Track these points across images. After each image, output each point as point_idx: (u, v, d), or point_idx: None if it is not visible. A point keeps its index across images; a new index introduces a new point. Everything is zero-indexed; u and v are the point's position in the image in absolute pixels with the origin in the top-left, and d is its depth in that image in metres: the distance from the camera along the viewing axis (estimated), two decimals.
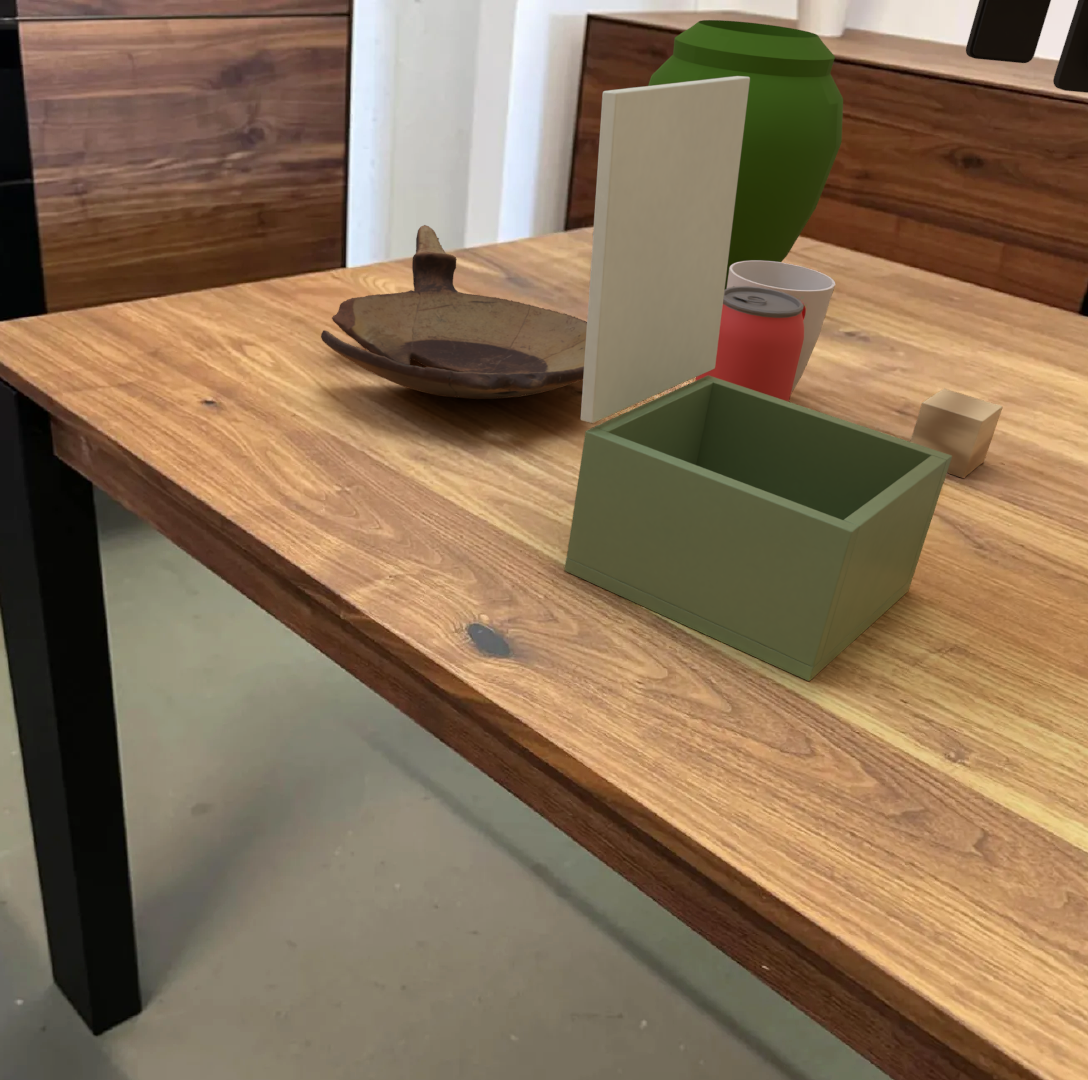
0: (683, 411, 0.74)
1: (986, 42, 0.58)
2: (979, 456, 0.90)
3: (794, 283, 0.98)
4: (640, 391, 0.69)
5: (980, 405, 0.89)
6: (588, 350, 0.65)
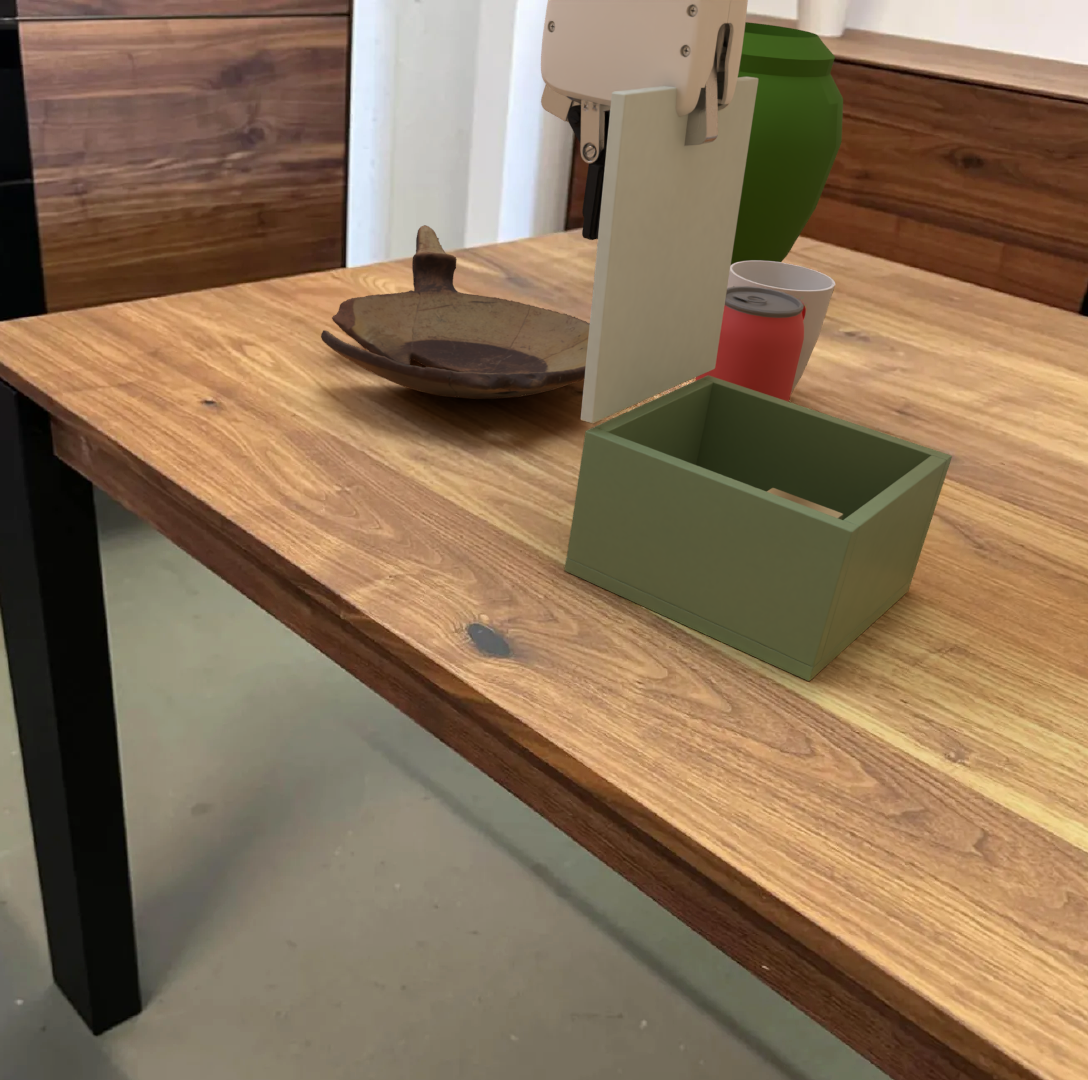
0: (683, 411, 0.74)
1: None
2: None
3: (794, 283, 0.98)
4: (640, 391, 0.69)
5: None
6: (590, 350, 0.65)
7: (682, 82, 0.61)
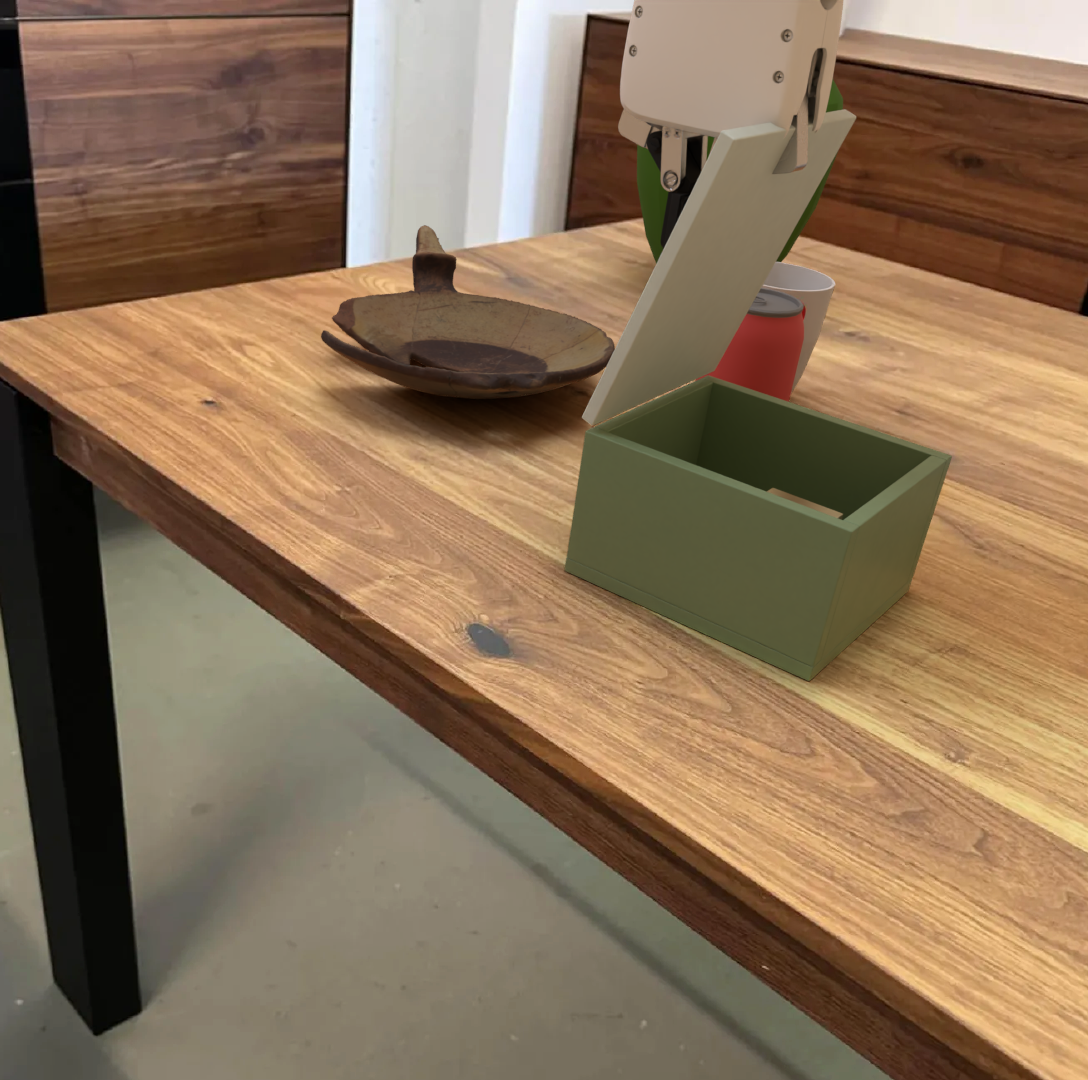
0: (683, 411, 0.74)
1: None
2: None
3: (794, 283, 0.98)
4: (643, 396, 0.69)
5: None
6: (613, 360, 0.64)
7: (774, 109, 0.59)
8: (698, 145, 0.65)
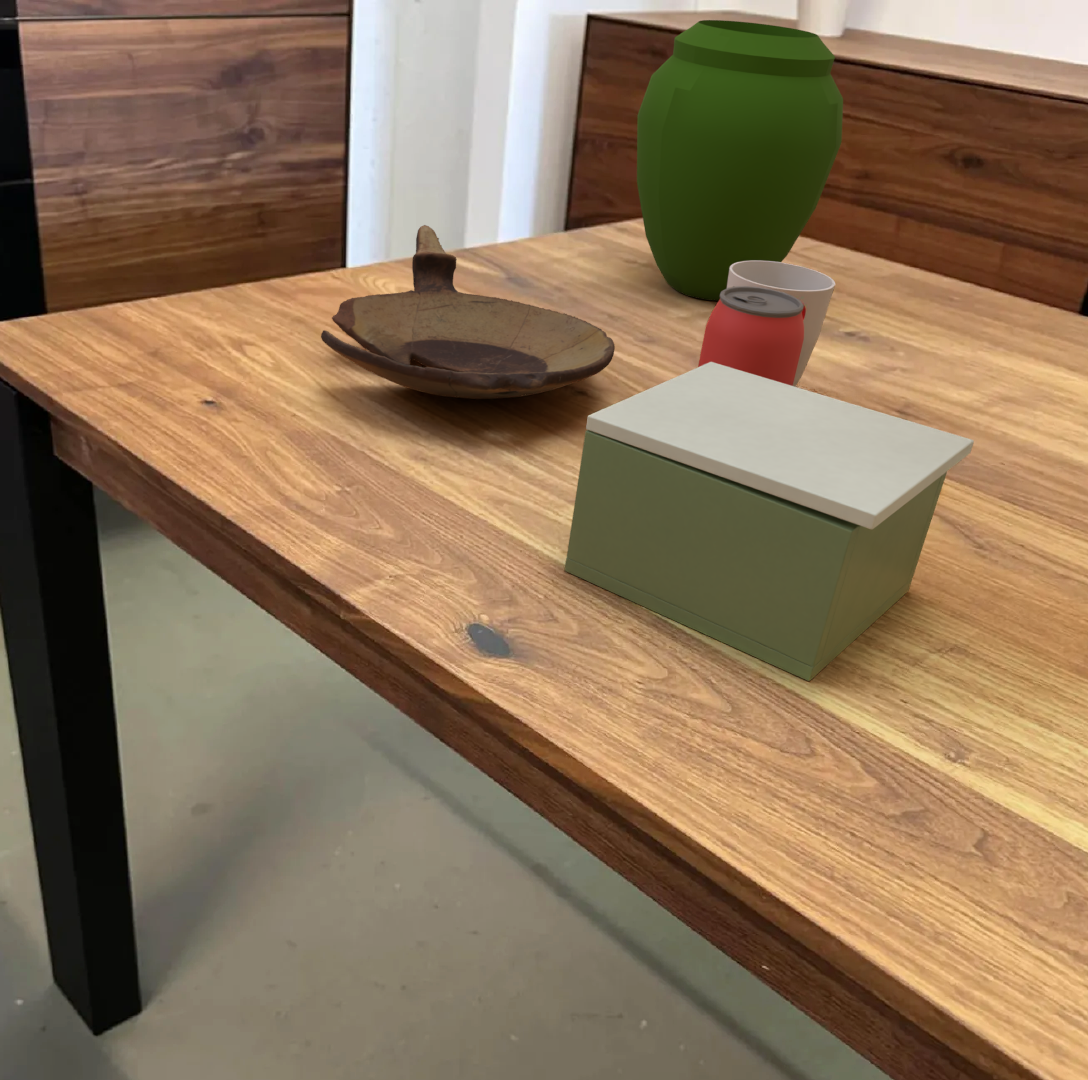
0: None
1: None
2: None
3: (794, 283, 0.98)
4: None
5: None
6: (648, 440, 0.65)
7: None
8: None
